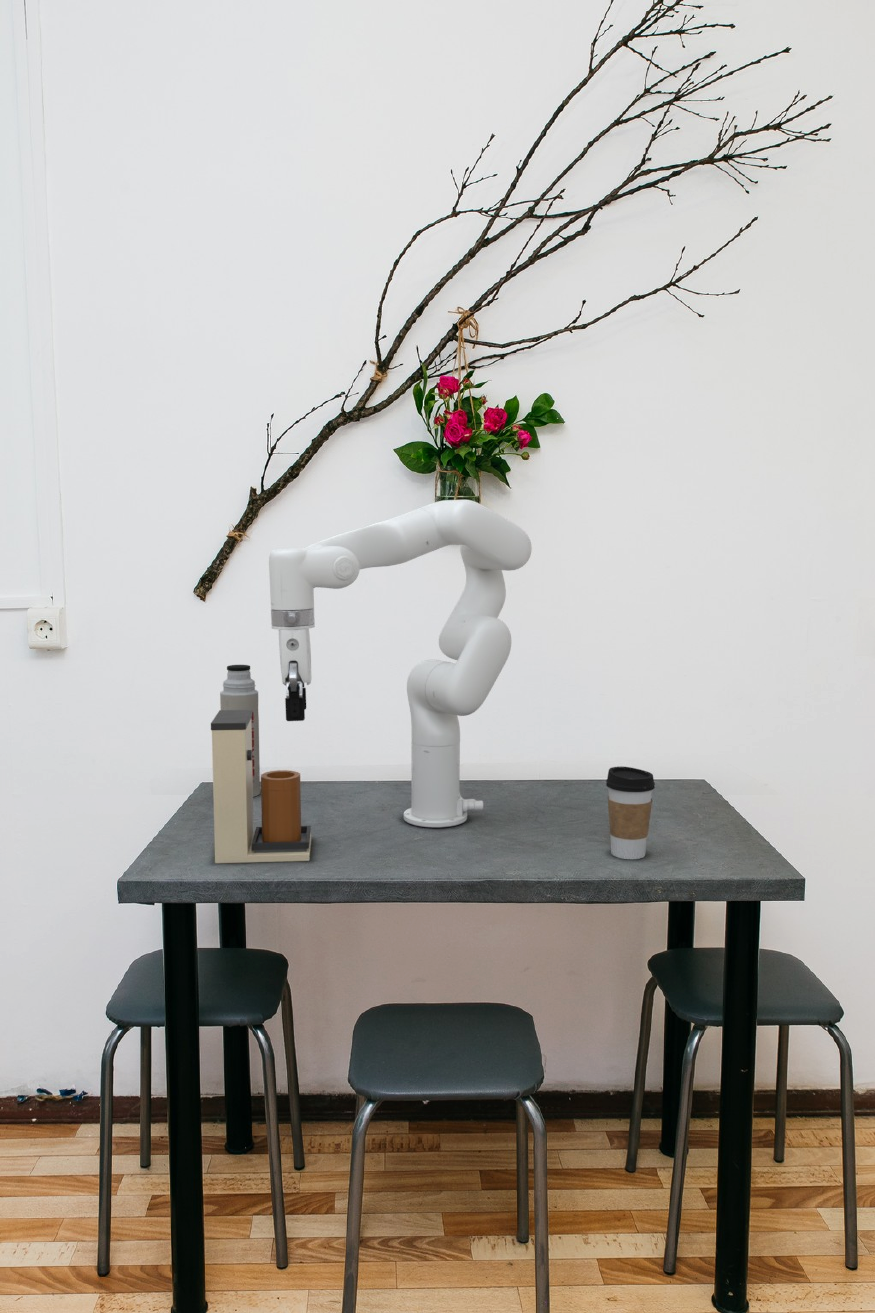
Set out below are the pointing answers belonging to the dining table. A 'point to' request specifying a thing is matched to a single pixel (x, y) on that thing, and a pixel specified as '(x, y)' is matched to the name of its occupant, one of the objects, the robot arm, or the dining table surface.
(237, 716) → the coffee maker
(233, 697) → the thermos bottle
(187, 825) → the dining table surface
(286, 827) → the brown hollow cylinder
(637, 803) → the coffee cup
